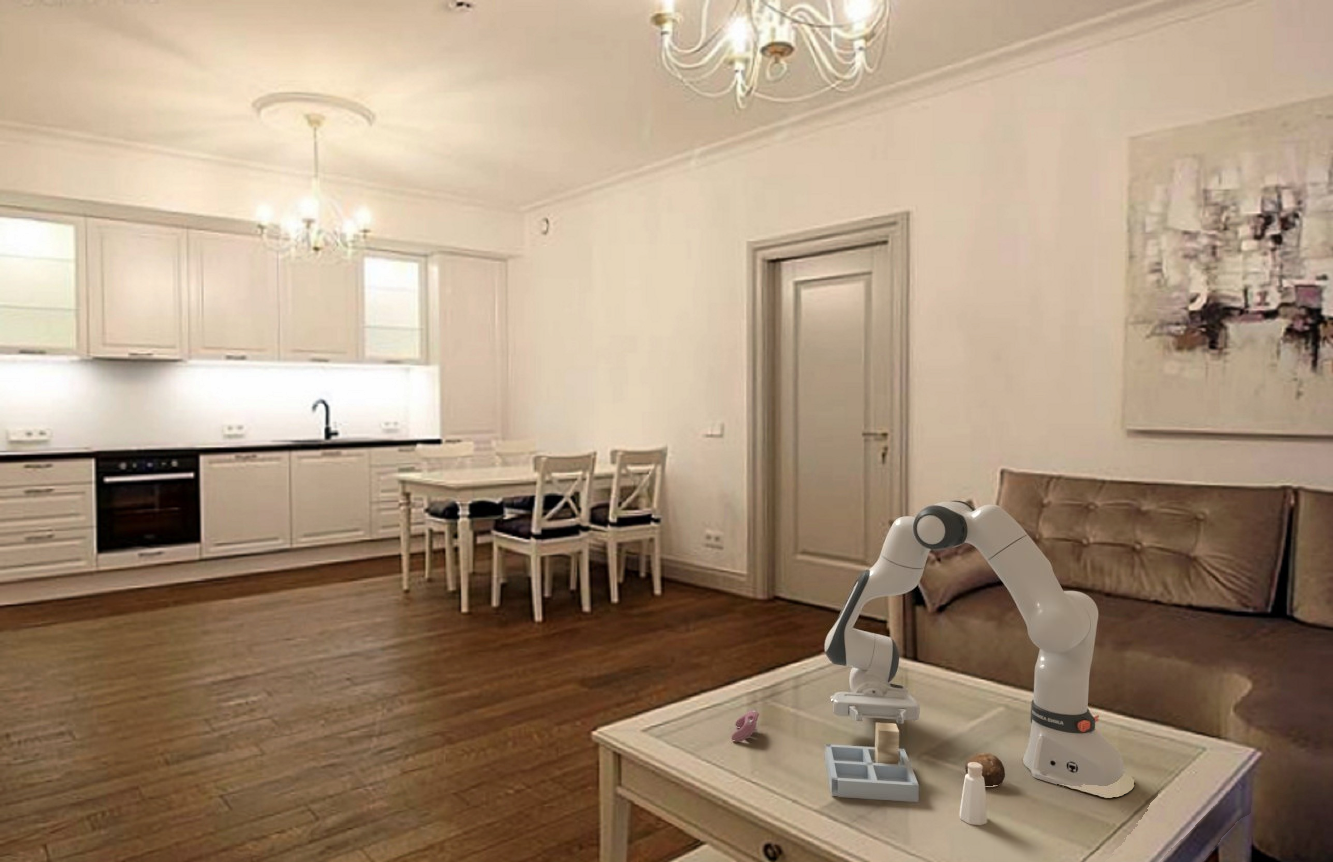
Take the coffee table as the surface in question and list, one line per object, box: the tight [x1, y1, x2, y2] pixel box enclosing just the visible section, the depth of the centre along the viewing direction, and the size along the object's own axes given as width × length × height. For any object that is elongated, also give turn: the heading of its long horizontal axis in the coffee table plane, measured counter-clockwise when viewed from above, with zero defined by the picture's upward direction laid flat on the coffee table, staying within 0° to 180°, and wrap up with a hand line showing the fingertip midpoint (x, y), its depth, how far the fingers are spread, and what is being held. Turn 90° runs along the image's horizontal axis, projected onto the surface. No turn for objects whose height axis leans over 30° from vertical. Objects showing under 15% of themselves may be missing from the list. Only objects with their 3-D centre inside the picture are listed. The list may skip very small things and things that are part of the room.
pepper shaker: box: [959, 762, 988, 826], centre depth 169 cm, size 5×5×11 cm
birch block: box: [874, 722, 900, 764], centre depth 189 cm, size 4×4×9 cm
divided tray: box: [824, 743, 920, 803], centre depth 185 cm, size 18×18×4 cm
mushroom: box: [964, 752, 1006, 786], centre depth 185 cm, size 8×8×6 cm
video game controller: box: [731, 709, 760, 742], centre depth 207 cm, size 10×5×7 cm, turn 169°
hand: (879, 719), depth 199 cm, fingers open, 8 cm apart
